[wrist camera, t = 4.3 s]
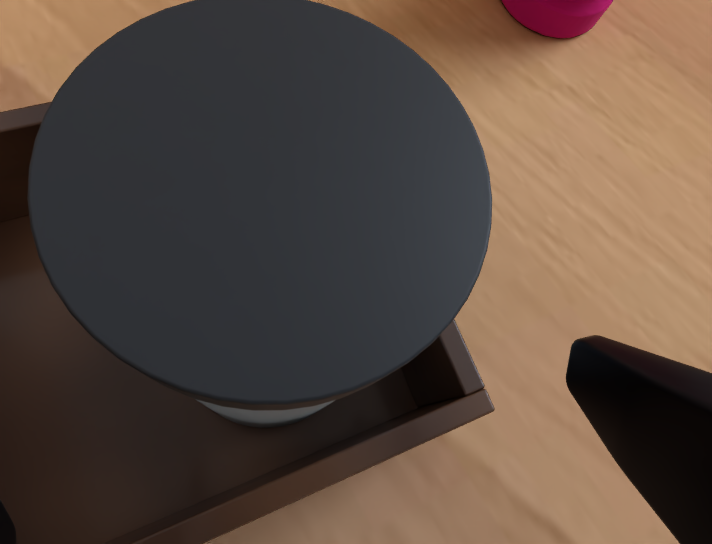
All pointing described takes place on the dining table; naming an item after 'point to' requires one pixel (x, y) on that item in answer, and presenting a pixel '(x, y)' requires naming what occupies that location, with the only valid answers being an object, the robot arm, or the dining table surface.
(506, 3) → the pepper mill
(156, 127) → the canister
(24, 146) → the brown wooden open box
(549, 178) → the dining table surface
